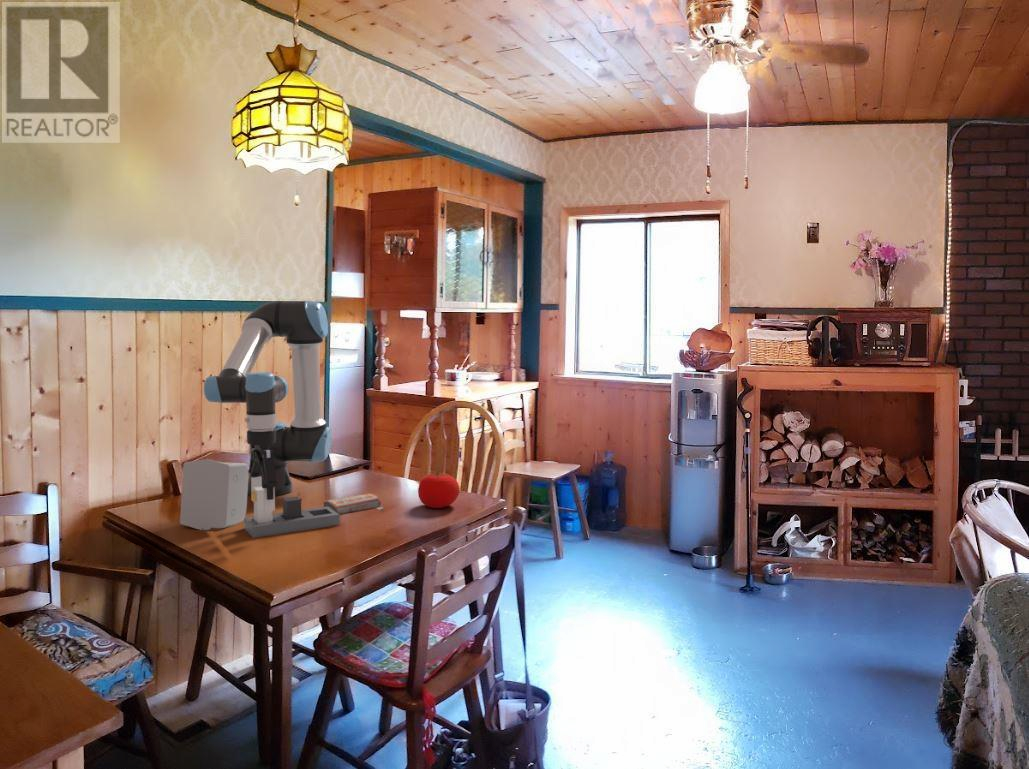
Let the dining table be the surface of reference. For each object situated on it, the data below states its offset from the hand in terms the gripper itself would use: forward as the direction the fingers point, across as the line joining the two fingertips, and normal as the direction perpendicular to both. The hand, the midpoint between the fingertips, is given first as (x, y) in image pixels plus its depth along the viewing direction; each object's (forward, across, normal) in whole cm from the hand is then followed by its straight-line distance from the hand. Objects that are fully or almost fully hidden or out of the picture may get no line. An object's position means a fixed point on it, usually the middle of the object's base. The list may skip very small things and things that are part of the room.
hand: (263, 505), depth 209 cm
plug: (+7, 0, 0) cm, 7 cm away
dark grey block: (+7, 0, +8) cm, 11 cm away
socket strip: (+8, 0, +8) cm, 11 cm away
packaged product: (+9, -10, +29) cm, 32 cm away
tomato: (+8, -2, +55) cm, 56 cm away
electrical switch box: (+8, -18, -8) cm, 21 cm away
